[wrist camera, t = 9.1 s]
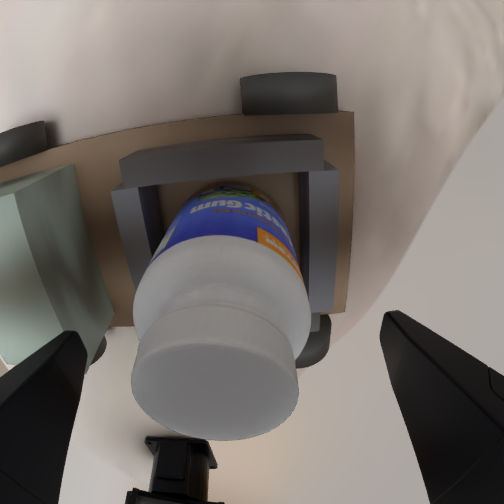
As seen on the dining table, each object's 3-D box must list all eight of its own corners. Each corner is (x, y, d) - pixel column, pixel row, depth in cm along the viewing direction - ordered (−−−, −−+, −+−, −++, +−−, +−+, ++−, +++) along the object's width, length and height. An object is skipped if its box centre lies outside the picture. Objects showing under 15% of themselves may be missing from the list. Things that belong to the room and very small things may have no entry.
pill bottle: (303, 203, 15) (381, 347, 6) (260, 294, 17) (276, 463, 8) (193, 162, 14) (113, 269, 5) (162, 262, 16) (99, 423, 7)
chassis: (336, 317, 20) (365, 395, 14) (58, 329, 20) (21, 392, 14) (342, 80, 13) (403, 71, 8) (-2, 139, 14) (-77, 167, 8)
